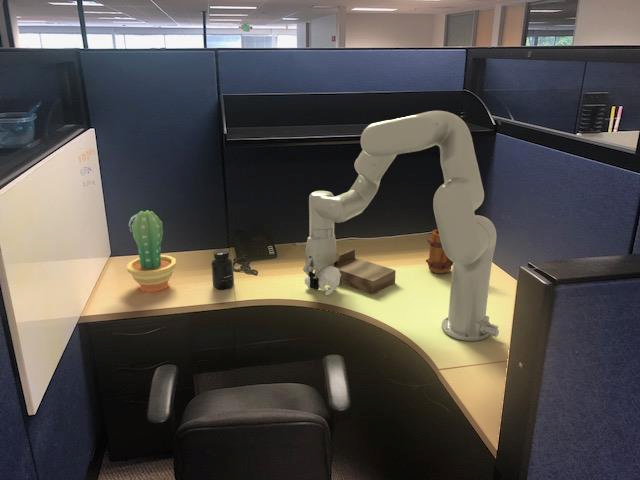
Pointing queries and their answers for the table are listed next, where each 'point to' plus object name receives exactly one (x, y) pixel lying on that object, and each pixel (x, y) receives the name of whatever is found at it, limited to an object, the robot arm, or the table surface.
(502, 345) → the table surface
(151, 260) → the potted cactus
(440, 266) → the mug
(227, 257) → the supplement bottle
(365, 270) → the display ledge
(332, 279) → the white animal figurine
